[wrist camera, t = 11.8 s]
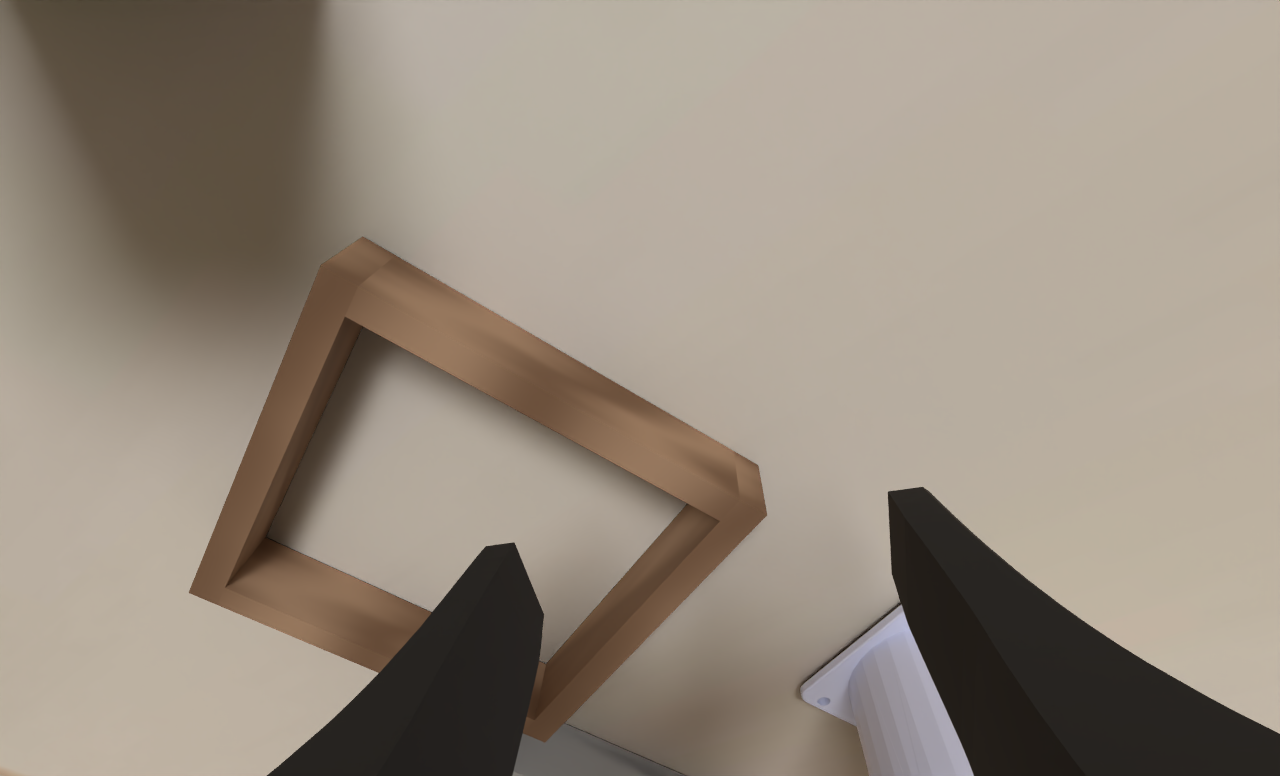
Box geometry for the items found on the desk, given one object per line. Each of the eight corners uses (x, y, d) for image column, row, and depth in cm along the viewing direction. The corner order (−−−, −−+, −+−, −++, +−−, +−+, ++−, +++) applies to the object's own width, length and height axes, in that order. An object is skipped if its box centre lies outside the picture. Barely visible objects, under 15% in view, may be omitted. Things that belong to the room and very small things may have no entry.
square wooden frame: (758, 465, 22) (766, 514, 20) (555, 686, 28) (545, 742, 26) (362, 236, 19) (320, 265, 16) (232, 542, 25) (188, 592, 22)
